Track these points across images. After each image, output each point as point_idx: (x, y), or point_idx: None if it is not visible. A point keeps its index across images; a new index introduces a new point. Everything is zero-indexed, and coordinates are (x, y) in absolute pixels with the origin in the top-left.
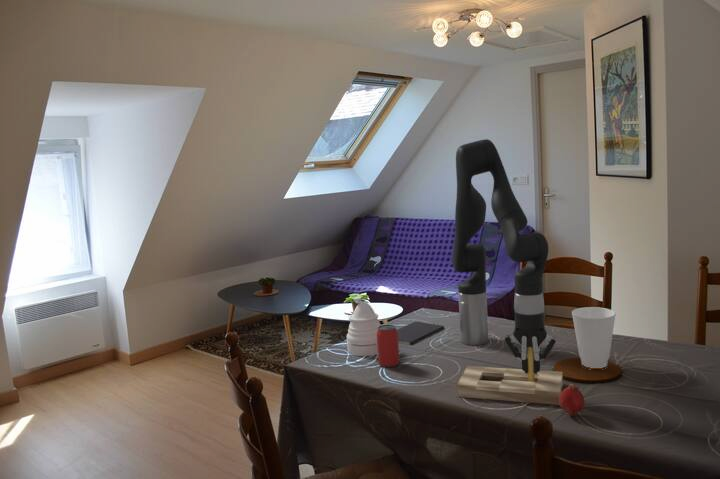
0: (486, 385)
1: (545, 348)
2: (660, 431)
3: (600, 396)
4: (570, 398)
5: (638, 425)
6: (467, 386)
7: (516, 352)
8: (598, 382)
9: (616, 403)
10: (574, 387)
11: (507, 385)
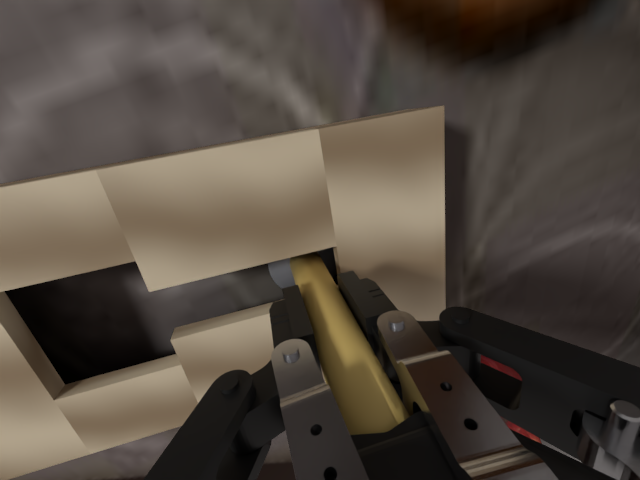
0: (136, 428)
1: (507, 364)
2: (631, 337)
3: (540, 189)
4: None
5: (597, 332)
6: (47, 461)
7: (252, 472)
8: (552, 30)
9: (577, 226)
10: (538, 437)
11: None
